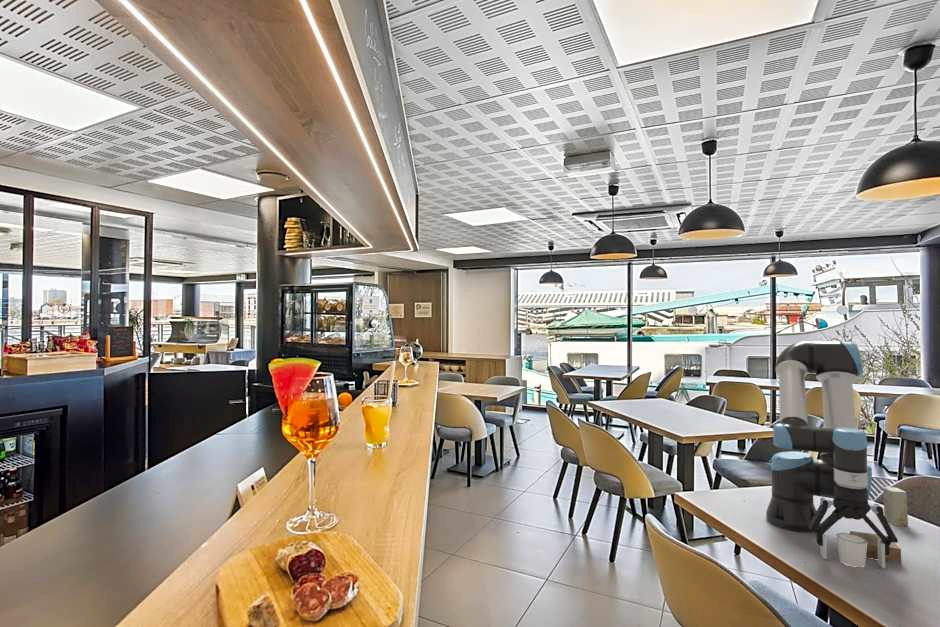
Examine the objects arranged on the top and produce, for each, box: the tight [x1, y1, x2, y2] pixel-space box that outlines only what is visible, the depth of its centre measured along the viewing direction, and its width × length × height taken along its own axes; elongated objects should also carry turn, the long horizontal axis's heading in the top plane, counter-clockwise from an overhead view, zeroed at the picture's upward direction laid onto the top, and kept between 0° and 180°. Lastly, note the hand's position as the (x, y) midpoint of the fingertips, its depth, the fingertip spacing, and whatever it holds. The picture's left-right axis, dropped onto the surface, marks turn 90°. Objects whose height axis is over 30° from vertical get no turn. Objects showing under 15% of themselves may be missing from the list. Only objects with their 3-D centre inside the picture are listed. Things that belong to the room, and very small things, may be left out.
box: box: [882, 486, 909, 527], centre depth 161 cm, size 5×4×11 cm
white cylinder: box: [836, 532, 867, 567], centre depth 135 cm, size 7×7×7 cm
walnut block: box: [849, 530, 902, 564], centre depth 140 cm, size 9×9×4 cm
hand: (852, 561), depth 135 cm, fingers open, 12 cm apart
